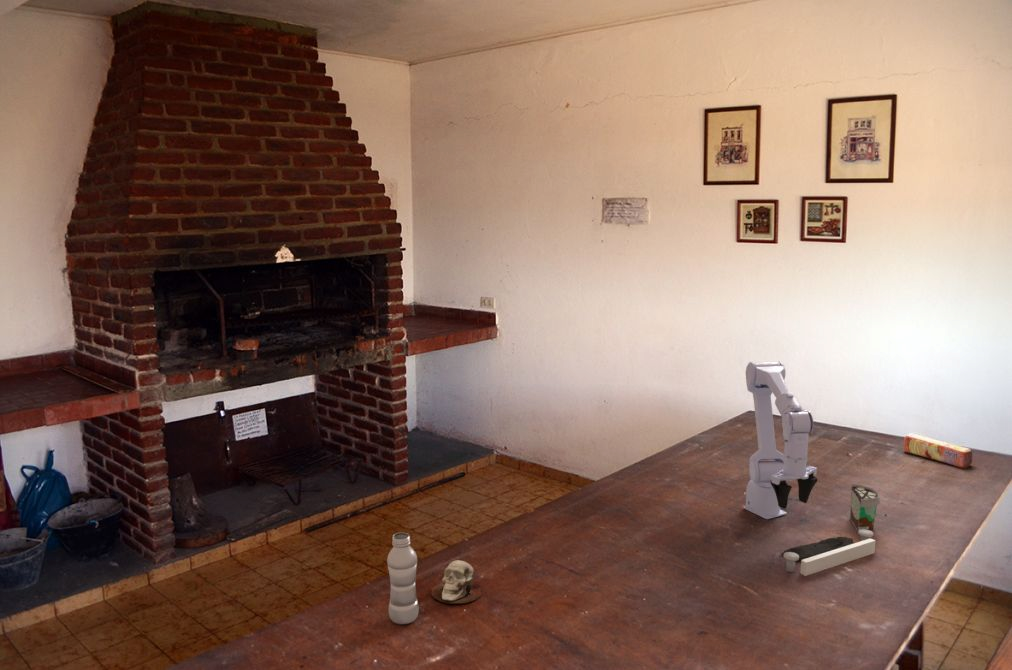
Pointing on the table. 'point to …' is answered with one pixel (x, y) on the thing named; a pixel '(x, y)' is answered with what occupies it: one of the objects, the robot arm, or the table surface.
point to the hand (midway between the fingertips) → (792, 504)
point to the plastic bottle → (402, 580)
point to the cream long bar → (833, 555)
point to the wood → (819, 547)
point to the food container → (863, 506)
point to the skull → (456, 584)
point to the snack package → (938, 450)
